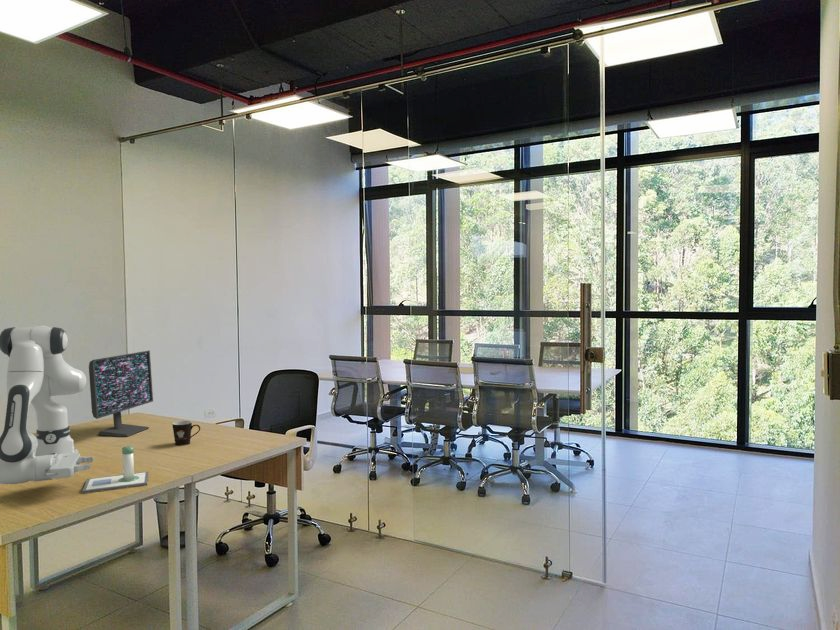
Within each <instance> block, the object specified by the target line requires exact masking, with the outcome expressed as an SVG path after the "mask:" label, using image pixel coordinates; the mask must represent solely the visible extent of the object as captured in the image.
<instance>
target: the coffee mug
mask: <svg viewBox="0 0 840 630" xmlns="http://www.w3.org/2000/svg"><path fill="white" fill-rule="evenodd" d="M194 427H198V431H197V432H195V433H193V434H192V429H193V428H194ZM172 430H173V432H172V433H173V437H174V438H173V439H174V443H175V446H180V447H181V446H186V445H189V444H191V439H192V438H193V437H194V436H196V435H197V434H198V433H199V432H200V430H201V426H200V425H199V424H193V421H191V420H179V421H173V422H172Z"/></svg>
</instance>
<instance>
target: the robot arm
mask: <svg viewBox="0 0 840 630" xmlns="http://www.w3.org/2000/svg"><path fill="white" fill-rule="evenodd" d="M68 342H69V338H68V335H67V331H65V330H64V329H63V328H61V327H58V326H56V327H50V326H48V325H44V324H42V325H41V324H40V325H36V326H22V327H14V326H13V327H8V328H4V329H3V330H2V331H1V332H0V351H1V353H2V354H4V355H7V357H8V358H9V359H8V361H7V368H6V369H7V370H6V393H7V395H6V396H7V402H6V403H7V404H6V410H5V412H6V413H5V419H4V428H3V431H2V434H1V435H0V485H17V484H24V483H27V482H43V481H51V480H52V481H53V480H54V479H66V478H67V479H68V478H71V477H74V475H75V473H80V472H83V471H85V470H86V471H88V470H90V469H91V463H93V462H94V456H81V453H80V452H79V450H78V449H77V448H76V446H75V445H74V439H73V438H72V436H71V428H70V426H69V411H68V408H67V407H66V406H65V405H64V404H60V403H59V402H55V401H54V399H52V397H53V396H55V397H56V396H68V395H74V394H77V393H81V392H83V390H84V389H85V388H86V385H87V381H88V380H87V379H88V378H87V376H86V374H85V373H84V372H83V371H82V370H81V369H77V368H75V367H74V366H72V365H70V364H69V363H67V361H65V360H64V359H65V358H64V357H63V355H62V354H63V353H64V351H66V349H67V347H68ZM30 405H31V406H32V407H33V409H34V411H35V414H36V415H35V416H36V422H37V423H36V425H37V429H36V434H34V433H32V432H30V431H27V429H28V428H27V427H28V417H29V409H30ZM83 463H84V464H83Z"/></svg>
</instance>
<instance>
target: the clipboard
mask: <svg viewBox="0 0 840 630" xmlns="http://www.w3.org/2000/svg"><path fill="white" fill-rule="evenodd" d="M148 473H149V471H143V472H134V479H132V480H123V474H117V475H107V476H99V477H92V478H86V482H85V483H84V486H83V488H82V491H81V493H82V494H88V493H87V492H90V493H95V492H94V491H98V492H102V491H101V490H106V491H111V490H110V489H113V490H120V489H119V488H121V489H128V488H127V487H129V488H136V487H135V486H137V487H143V486H144V485H145V486H148V483H147V482H148V481H149V474H148Z"/></svg>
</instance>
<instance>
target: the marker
mask: <svg viewBox="0 0 840 630" xmlns="http://www.w3.org/2000/svg"><path fill="white" fill-rule="evenodd" d="M134 449H135V448H134V446H133V445H130V446H129V445H127V446H124V447H122V448H121V452H122V471H123V472H122V475H123V480H132V479H134V473H135V467H134V465H135V462H134V453H135V451H134Z"/></svg>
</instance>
